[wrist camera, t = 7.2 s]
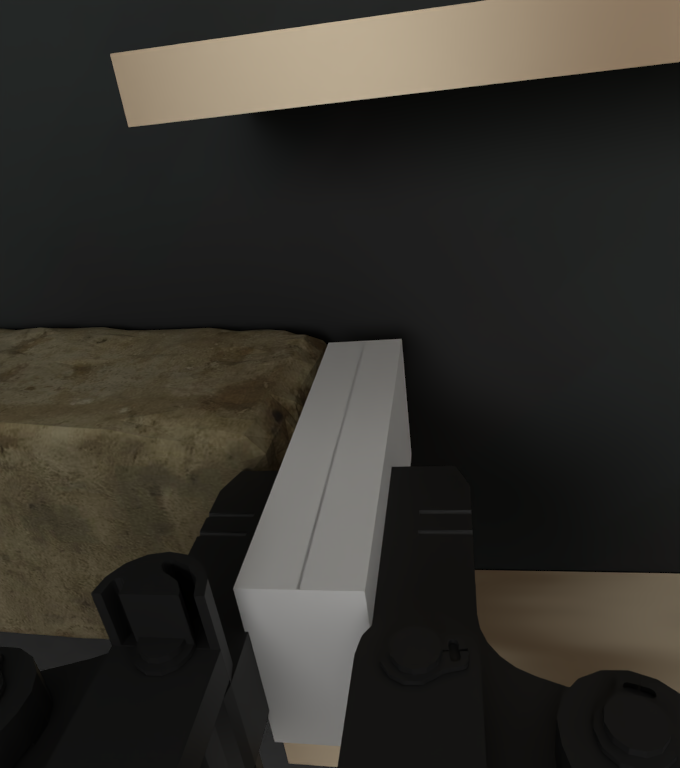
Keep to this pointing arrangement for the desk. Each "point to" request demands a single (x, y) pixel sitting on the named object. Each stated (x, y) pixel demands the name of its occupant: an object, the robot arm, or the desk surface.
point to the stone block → (128, 451)
